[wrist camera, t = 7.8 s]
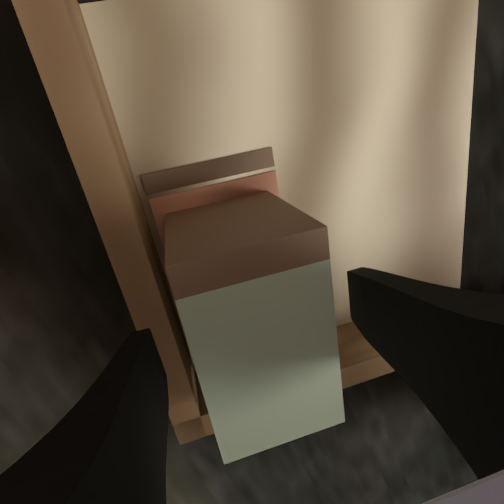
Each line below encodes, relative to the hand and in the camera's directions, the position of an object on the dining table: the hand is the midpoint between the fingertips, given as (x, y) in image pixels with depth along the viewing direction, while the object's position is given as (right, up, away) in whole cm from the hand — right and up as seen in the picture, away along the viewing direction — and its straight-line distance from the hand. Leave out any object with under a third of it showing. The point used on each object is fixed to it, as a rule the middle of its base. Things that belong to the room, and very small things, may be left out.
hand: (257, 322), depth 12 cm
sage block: (-1, +1, +4) cm, 4 cm away
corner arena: (+2, +5, +4) cm, 7 cm away
